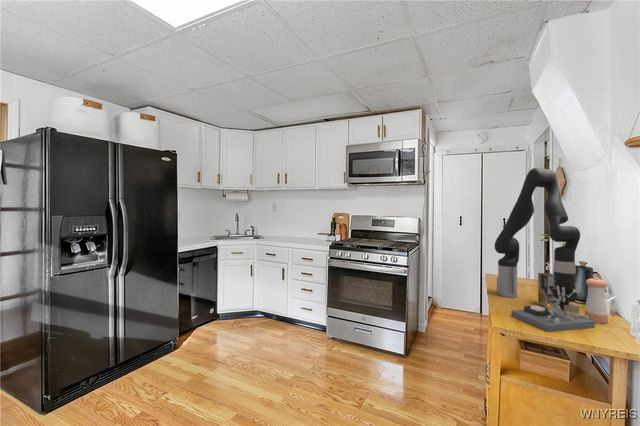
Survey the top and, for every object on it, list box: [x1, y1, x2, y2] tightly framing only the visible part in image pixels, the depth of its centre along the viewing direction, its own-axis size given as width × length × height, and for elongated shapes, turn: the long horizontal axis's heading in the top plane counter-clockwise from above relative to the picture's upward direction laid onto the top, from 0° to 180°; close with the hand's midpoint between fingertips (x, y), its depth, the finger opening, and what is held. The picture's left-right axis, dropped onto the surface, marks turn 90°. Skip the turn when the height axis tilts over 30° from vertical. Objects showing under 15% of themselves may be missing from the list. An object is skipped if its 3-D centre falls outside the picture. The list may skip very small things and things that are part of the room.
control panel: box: [511, 305, 596, 333], centre depth 129 cm, size 18×23×4 cm
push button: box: [530, 305, 546, 311], centre depth 132 cm, size 5×5×2 cm
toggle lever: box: [545, 304, 555, 319], centre depth 122 cm, size 2×2×6 cm
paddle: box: [564, 304, 580, 318], centre depth 127 cm, size 2×6×5 cm, turn 100°
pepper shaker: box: [584, 276, 609, 324], centre depth 129 cm, size 7×7×19 cm
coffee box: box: [537, 272, 560, 308], centre depth 149 cm, size 9×6×16 cm
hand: (564, 309), depth 130 cm, fingers closed
